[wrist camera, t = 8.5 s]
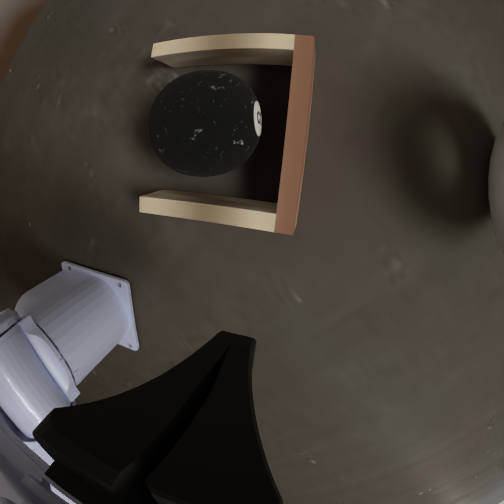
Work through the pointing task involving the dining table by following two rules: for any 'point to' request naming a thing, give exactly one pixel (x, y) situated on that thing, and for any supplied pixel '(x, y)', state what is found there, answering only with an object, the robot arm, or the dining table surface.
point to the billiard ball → (205, 123)
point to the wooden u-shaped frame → (303, 62)
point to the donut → (497, 186)
